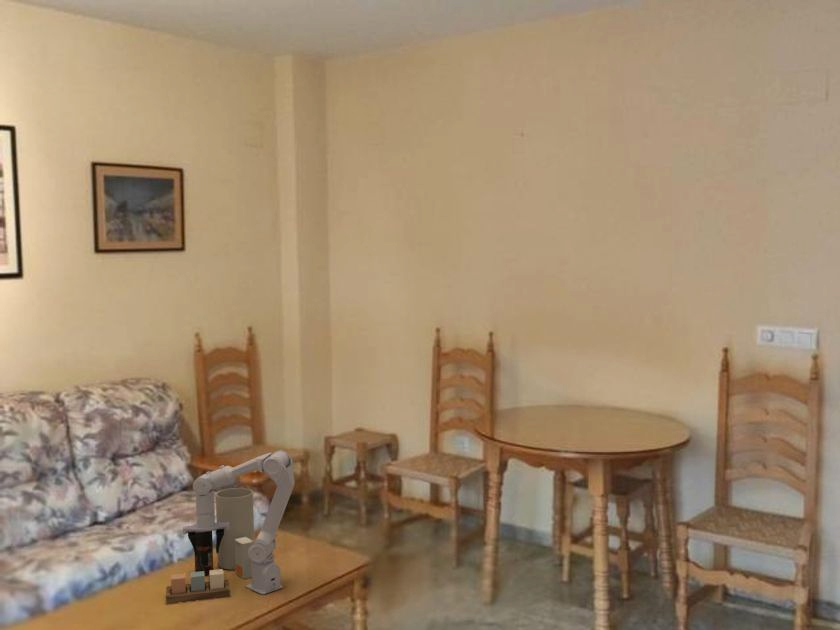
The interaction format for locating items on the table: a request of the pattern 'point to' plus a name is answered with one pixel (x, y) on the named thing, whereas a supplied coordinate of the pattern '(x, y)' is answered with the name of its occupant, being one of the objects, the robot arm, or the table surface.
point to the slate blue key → (197, 581)
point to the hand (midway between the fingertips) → (206, 553)
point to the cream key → (216, 579)
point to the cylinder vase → (234, 522)
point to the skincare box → (243, 557)
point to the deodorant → (204, 552)
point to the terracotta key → (178, 583)
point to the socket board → (197, 593)
